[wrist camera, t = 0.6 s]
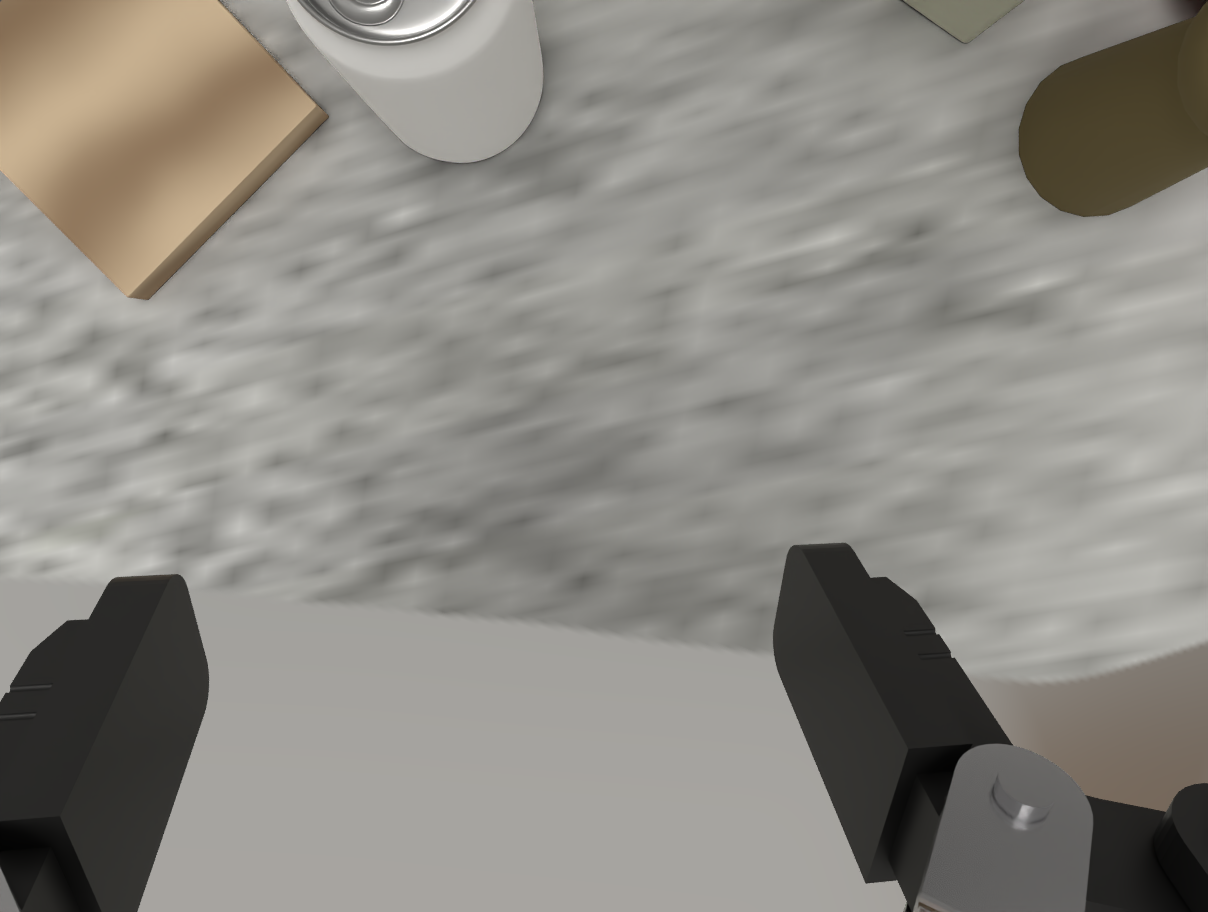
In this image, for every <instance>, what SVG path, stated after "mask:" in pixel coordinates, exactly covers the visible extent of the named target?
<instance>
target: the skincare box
mask: <svg viewBox="0 0 1208 912" xmlns="http://www.w3.org/2000/svg"><path fill="white" fill-rule="evenodd" d="M903 1H905V2H906V3H907V4H909V5H910V6H912V7H913V8H914V9H916V10H917V11H919V12H920V13H921V14H923V15H924V16H926V17H927V18H928V19H930V20H931V21H933V22H934V23H935V24H937V25H938V26H940V27H941V28H943V29H944V30H945V31H947V32H948V33H950V34H951V35H953V36H954V37H956V38H957V39H958V40H960V41H961V42H964V43H968V42H970V41H972V40H973V39H974V38H976V37H977V36H978V35H980V34H981V33H982V32H984V31H985V30H986V29H987V28H989V27H990V26H991V25H993V24H994V23H995V22H997V21H998V20H999V19H1001V18H1002V17H1003V16H1004V15H1006V14H1007V13H1008V12H1010V11H1011V10H1012V9H1014V8H1015V7H1016V6H1018V5H1019V4H1020V3H1022V2H1023V1H1024V0H903Z"/></svg>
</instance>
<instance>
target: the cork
mask: <svg viewBox="0 0 1208 912" xmlns="http://www.w3.org/2000/svg"><path fill="white" fill-rule="evenodd" d="M1019 155H1020V158H1021V162H1022V165H1023V168H1024V171H1025V174H1026V177H1027V179H1028V180H1029V181H1030V183H1031V184H1032V185H1033V187H1034V188H1035V189H1036V191H1037V192H1038V193H1039V195H1040V196H1041V197H1042V198H1043V199H1045V200H1046V201H1048V202H1049V203H1051V204H1052V205H1053V206H1055V207H1056V208H1058V209H1059V210H1061V211H1064V212H1068V213H1072V214H1075V215H1079V216H1083V217H1088V216H1104V215H1110V214H1113V213H1115V212H1118V211H1120V210H1123V209H1125V208H1128V207H1130V206H1132V205H1134V204H1136V203H1138V202H1140V201H1142V200H1144V199H1146V198H1148V197H1150V196H1152V195H1154V194H1156V193H1158V192H1160V191H1162V190H1164V189H1166V188H1168V187H1170V186H1172V185H1174V184H1176V183H1178V182H1180V181H1181V180H1183V179H1185V178H1187V177H1189V176H1191V175H1193V174H1195V173H1197V172H1199V171H1201V170H1203V169H1205V168H1207V167H1208V1H1207V2H1206V3H1205V4H1204V5H1203V6H1202V8H1201V9H1200V11H1199V12H1198V14H1197V15H1196V17H1193V18H1190V19H1187V20H1184V21H1182V22H1179V23H1176V24H1173V25H1170V26H1168V27H1165V28H1162V29H1159V30H1156V31H1154V32H1151V33H1148V34H1145V35H1143V36H1140V37H1137V38H1134V39H1131V40H1129V41H1126V42H1123V43H1120V44H1117V45H1115V46H1112V47H1109V48H1106V49H1103V50H1101V51H1098V52H1095V53H1092V54H1090V55H1087V56H1084V57H1081V58H1079V59H1077V60H1074V61H1072V62H1069V63H1067V64H1064V65H1062V66H1060V67H1059V68H1057V69H1056V70H1055V71H1054V72H1053V73H1051V74H1050V75H1049V76H1048V77H1047V78H1045V79H1044V80H1043V81H1042V82H1041V83H1040V84H1039V86H1038V87H1037V89H1036V90H1035V92H1034V93H1033V95H1032V96H1031V98H1030V99H1029V101H1028V102H1027V104H1026V107H1025V110H1024V114H1023V117H1022V120H1021V123H1020V127H1019Z"/></svg>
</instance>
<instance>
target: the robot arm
mask: <svg viewBox="0 0 1208 912" xmlns="http://www.w3.org/2000/svg"><path fill="white" fill-rule="evenodd" d="M773 648H774V656H775V662H776V666H777V670H778V672H779V675H780V678H781V680H782V683H783V685H784V687H785V690H786V692H787V695H788V697H789V700H790V702H791V704H792V707H793V709H794V712H795V714H796V716H797V719H798V721H799V724H800V726H801V728H802V731H803V733H804V736H805V738H806V741H807V743H808V745H809V748H810V750H811V752H812V755H813V757H814V760H815V762H816V765H817V767H818V770H819V772H820V774H821V777H822V779H823V781H824V784H825V786H826V789H827V791H828V793H829V796H830V798H831V801H832V803H833V806H834V808H835V810H836V813H837V815H838V818H839V820H840V822H841V825H842V827H843V830H844V832H845V835H846V837H847V839H848V842H849V844H850V847H851V849H852V851H853V854H854V856H855V859H856V861H857V863H858V866H859V868H860V871H861V873H862V876H863V878H864V880H865V883H874V882H885V881H894V880H898V883H899V885H900V887H901V889H902V891H903V894H904V896H905V898H906V900H907V902H906V905H905V908H904V911H903V912H1208V784H1207V783H1202V784H1194V785H1191V786H1188V787H1185V788H1184V789H1182V790H1181V791H1179V792H1178V794H1177V795H1176V796H1175V797H1174V799H1173V801H1172V803H1171V804H1170V806H1169V808H1168V810H1167V811H1166V812H1164V811H1159V810H1154V809H1148V808H1144V807H1138V806H1133V805H1128V804H1123V803H1118V802H1113V801H1108V800H1102V799H1098V798H1094V797H1090V796H1086V795H1085V794H1084V793H1083V791H1082V790H1081V788H1080V787H1079V786H1078V785H1077V783H1076V782H1075V781H1074V780H1073V779H1072V778H1071V777H1070V776H1069V775H1068V774H1067V773H1066V772H1065V771H1063V770H1062V769H1061V768H1059V767H1058V766H1057V765H1055V764H1054V763H1053V762H1051V761H1049V760H1048V759H1046V758H1044V757H1043V756H1041V755H1038V754H1036V753H1034V752H1032V751H1029V750H1026V749H1023V748H1020V747H1017V746H1013V744H1012V743H1011V742H1010V740H1009V739H1008V737H1007V736H1006V734H1005V733H1004V731H1003V730H1002V728H1001V727H1000V725H999V724H998V722H997V721H996V719H995V718H994V716H993V715H992V713H991V712H990V710H989V709H988V707H987V706H986V704H985V703H984V701H983V700H982V698H981V697H980V695H979V694H978V692H977V691H976V689H975V688H974V686H973V684H972V683H971V681H970V680H969V678H968V677H967V675H966V674H965V672H964V671H963V669H962V668H961V666H960V665H959V663H958V662H957V660H956V659H955V658H952V657H951V651H950V650H949V648H948V647H947V645H946V644H945V642H944V641H943V639H942V638H941V636H940V635H939V634H937V635H936V633H935V627H934V626H933V624H932V623H931V621H930V620H929V618H928V617H927V615H926V614H925V612H924V611H923V609H922V608H921V606H920V605H919V603H918V602H917V600H915V599H914V598H913V597H911V596H910V595H909V594H908V593H906V592H905V591H904V590H902V589H901V588H900V587H899V586H897V585H896V584H895V583H893V582H892V581H891V580H890V579H888V578H887V577H877V578H870V576H869V575H868V573H867V572H866V570H865V568H864V567H863V565H862V563H861V562H860V560H859V559H858V557H857V555H856V554H855V552H854V551H853V549H852V548H851V546H849V545H848V544H847V543H828V544H808V545H794V546H792V547H791V548H790V550H789V552H788V554H787V558H786V563H785V569H784V574H783V580H782V585H781V591H780V596H779V602H778V607H777V613H776V618H775V624H774V630H773ZM208 692H209V672H208V664H207V659H206V656H205V652H204V648H203V644H202V640H201V637H200V633H199V629H198V625H197V622H196V618H195V614H194V610H193V606H192V603H191V599H190V595H189V591H188V588H187V585H186V582H185V580H184V579H183V577H182V576H181V575H178V574H171V575H151V576H131V577H116V578H114V579H112V580H111V581H110V582H109V584H108V585H107V587H106V589H105V590H104V592H103V594H102V596H101V598H100V599H99V601H98V603H97V605H96V607H95V608H94V610H93V612H92V614H91V616H90V618H89V619H88V620H70V621H66V622H65V623H64V624H63V625H62V626H60V627H59V628H58V629H57V630H56V631H54V632H53V633H52V634H51V635H50V636H49V637H47V638H46V639H45V640H44V641H43V642H41V643H40V644H39V645H38V646H37V647H36V648H35V649H33V650H32V651H31V652H30V654H29V655H28V657H27V659H26V661H25V662H24V664H23V666H22V667H21V669H20V670H19V672H18V674H17V675H16V677H15V678H14V680H13V682H12V683H11V685H10V692H9V693H5V695H4V697H3V698H2V700H1V702H0V912H137V911H138V908H139V905H140V902H141V899H142V896H143V893H144V890H145V887H146V884H147V881H148V878H149V875H150V872H151V870H152V867H153V864H154V861H155V858H156V855H157V852H158V849H159V846H160V843H161V840H162V837H163V834H164V831H165V828H166V825H167V822H168V819H169V816H170V814H171V811H172V807H173V805H174V802H175V799H176V796H177V792H178V790H179V787H180V784H181V781H182V778H183V775H184V772H185V769H186V766H187V763H188V760H189V758H190V755H191V752H192V749H193V746H194V743H195V739H196V737H197V734H198V731H199V728H200V725H201V722H202V719H203V716H204V713H205V710H206V705H207V700H208Z"/></svg>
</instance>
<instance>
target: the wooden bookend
mask: <svg viewBox="0 0 1208 912" xmlns="http://www.w3.org/2000/svg"><path fill="white" fill-rule="evenodd" d="M328 117H329V116H328V115H327V114H326V113H325V112H324V111H323V110H322V109H321V107H320V106H319V105H318V104H317V103H316V102H315V101H314V100H313V99H312V98H311V97H310V96H309V95H308V94H307V93H306V92H305V91H304V90H303V88H302V87H301V86H300V85H299V84H298V83H297V82H296V81H295V80H294V79H293V78H292V77H291V76H290V75H289V74H288V73H287V72H286V70H285V69H284V68H283V67H282V66H281V65H280V64H279V63H278V62H277V61H276V60H275V59H274V58H273V57H272V56H271V55H270V54H269V53H268V51H267V50H266V49H265V48H264V47H263V46H262V45H261V44H260V43H259V42H258V41H257V40H256V39H255V38H254V37H253V36H252V35H251V34H250V32H249V31H248V30H247V29H246V28H245V27H244V26H243V25H242V24H241V23H240V22H239V21H238V20H237V19H236V18H235V17H234V16H233V15H232V13H231V12H230V11H229V10H228V9H227V8H226V7H225V6H224V5H223V4H222V3H221V2H220V1H219V0H0V170H1V171H2V172H3V173H4V174H5V175H6V176H7V177H8V178H9V179H10V180H11V181H12V182H13V183H14V184H15V185H16V186H17V187H18V188H19V189H20V190H21V191H22V192H23V193H24V194H25V195H26V196H27V197H28V198H29V199H30V200H31V201H32V202H33V203H34V204H35V205H36V206H37V207H38V208H39V209H40V210H41V211H42V212H43V213H44V214H45V215H46V216H47V217H48V218H49V219H50V220H51V221H52V222H53V223H54V224H55V225H56V226H57V227H58V228H59V229H60V230H61V231H62V232H63V233H64V234H65V235H66V236H67V237H68V238H69V239H70V240H71V241H72V242H73V243H74V244H75V245H76V246H77V247H78V248H79V249H80V250H81V251H82V252H83V253H84V254H85V255H86V256H87V257H88V258H89V259H90V260H91V261H92V262H93V263H94V264H95V265H96V266H97V267H98V268H99V269H100V270H101V271H102V272H103V273H104V274H105V275H106V276H107V277H108V278H109V279H110V280H111V281H112V282H113V283H114V284H115V285H116V286H117V287H118V288H119V289H120V290H121V291H122V292H123V293H124V294H125V295H126V296H127V297H129V298H137V299H146V300H148V299H149V298H150V297H151V296H152V295H153V294H154V293H155V292H156V291H157V290H158V289H159V288H160V287H161V286H162V285H163V284H164V283H165V282H166V281H167V280H168V279H169V278H170V277H171V276H172V275H173V274H174V273H175V272H176V271H177V270H178V269H179V268H180V267H181V266H182V265H183V264H184V263H185V262H186V261H187V260H188V259H189V258H190V257H191V256H192V255H193V254H194V253H195V252H196V251H197V250H198V249H199V248H200V247H201V246H202V245H203V244H204V243H205V242H206V241H207V240H208V239H209V238H210V237H211V236H212V235H213V234H214V233H215V232H216V231H217V230H218V229H219V228H220V227H221V226H222V225H223V224H224V222H225V221H226V220H227V219H228V218H229V217H230V216H231V215H232V214H233V213H234V212H235V211H236V210H237V209H238V208H239V207H240V206H241V205H242V204H243V203H244V202H245V201H246V200H247V199H248V198H249V197H250V196H251V195H252V194H253V193H254V192H255V191H256V190H257V189H258V188H259V187H260V186H261V185H262V184H263V183H264V182H265V181H266V180H267V179H268V178H269V177H270V176H271V175H272V174H273V173H274V172H275V171H276V170H277V169H278V168H279V167H280V166H281V165H282V164H283V163H284V162H285V161H286V160H287V159H288V158H289V157H290V156H291V155H292V154H293V153H294V152H295V151H296V150H297V149H298V148H299V147H300V146H301V145H302V144H303V143H304V142H305V141H306V140H307V139H308V138H309V137H310V136H311V134H312V133H313V132H314V131H315V130H316V129H317V128H318V127H319V126H320V125H321V124H322V123H323V122H324V121H325V120H326V119H327V118H328Z"/></svg>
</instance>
